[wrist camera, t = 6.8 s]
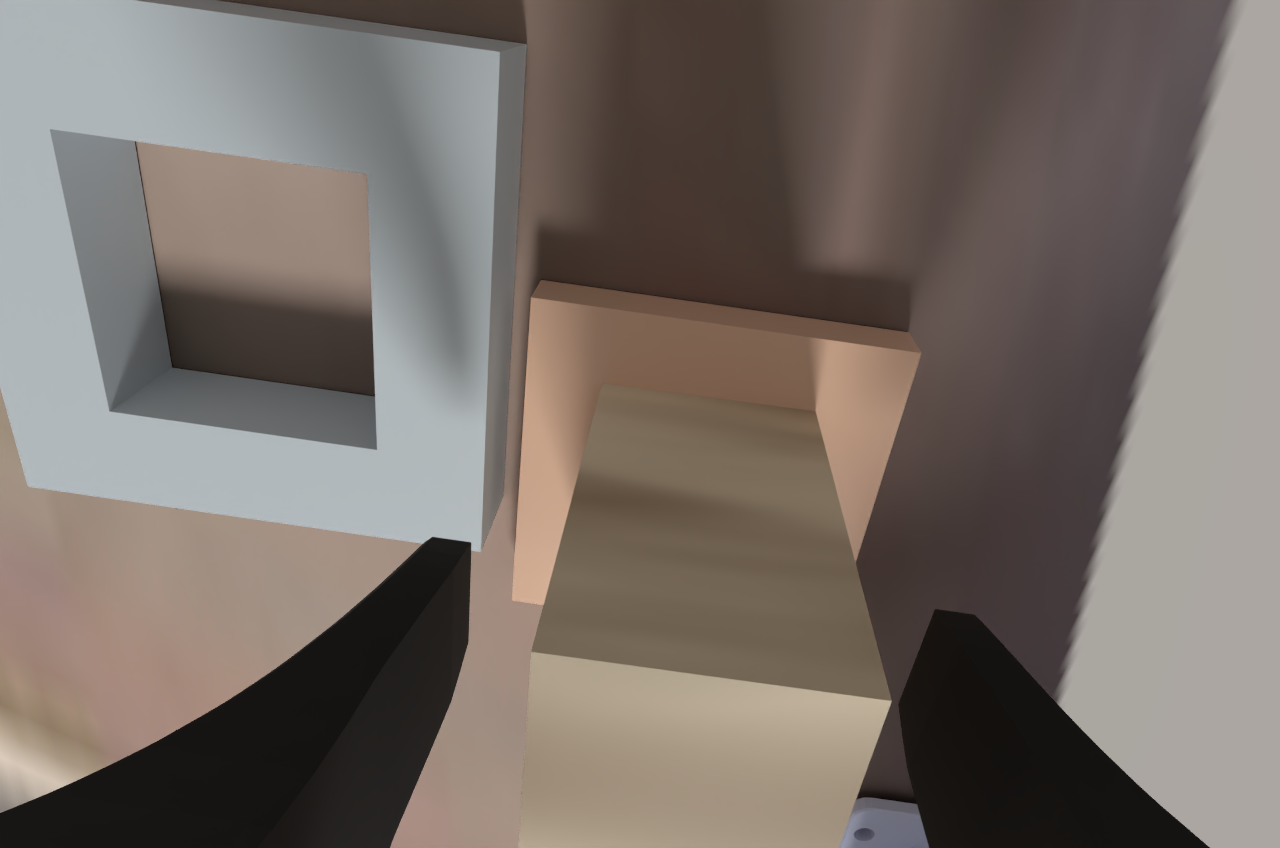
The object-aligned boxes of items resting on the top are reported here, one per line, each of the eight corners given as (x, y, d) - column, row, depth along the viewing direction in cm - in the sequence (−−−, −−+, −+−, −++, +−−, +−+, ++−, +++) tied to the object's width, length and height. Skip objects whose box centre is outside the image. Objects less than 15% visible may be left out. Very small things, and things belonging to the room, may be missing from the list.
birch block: (774, 580, 17) (814, 915, 11) (585, 554, 17) (516, 873, 11) (815, 411, 15) (892, 701, 9) (602, 383, 15) (531, 651, 9)
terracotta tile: (823, 615, 19) (829, 646, 18) (520, 571, 19) (511, 600, 18) (908, 332, 15) (921, 352, 14) (540, 280, 15) (530, 297, 14)
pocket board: (503, 496, 18) (480, 552, 16) (95, 437, 18) (27, 486, 16) (526, 44, 13) (499, 51, 12) (-11, -32, 13) (-119, -36, 12)
